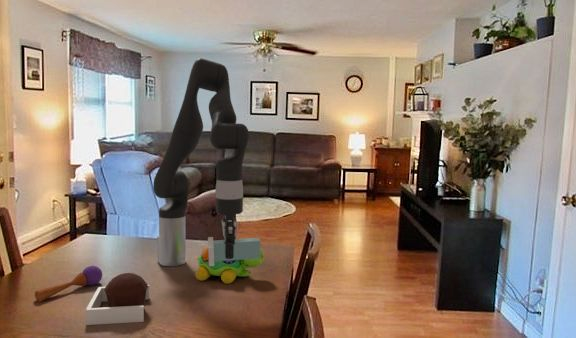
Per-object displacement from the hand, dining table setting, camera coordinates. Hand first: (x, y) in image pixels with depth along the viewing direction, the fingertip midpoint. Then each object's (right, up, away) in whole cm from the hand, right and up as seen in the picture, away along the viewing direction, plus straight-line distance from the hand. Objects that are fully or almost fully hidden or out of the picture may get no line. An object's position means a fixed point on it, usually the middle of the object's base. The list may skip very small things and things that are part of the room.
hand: (229, 256), depth 132 cm
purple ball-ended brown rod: (-49, -13, +10) cm, 51 cm away
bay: (-29, -14, -4) cm, 33 cm away
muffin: (-27, -14, -4) cm, 31 cm away
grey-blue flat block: (+1, -1, 0) cm, 1 cm away
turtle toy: (-3, -12, +26) cm, 29 cm away
